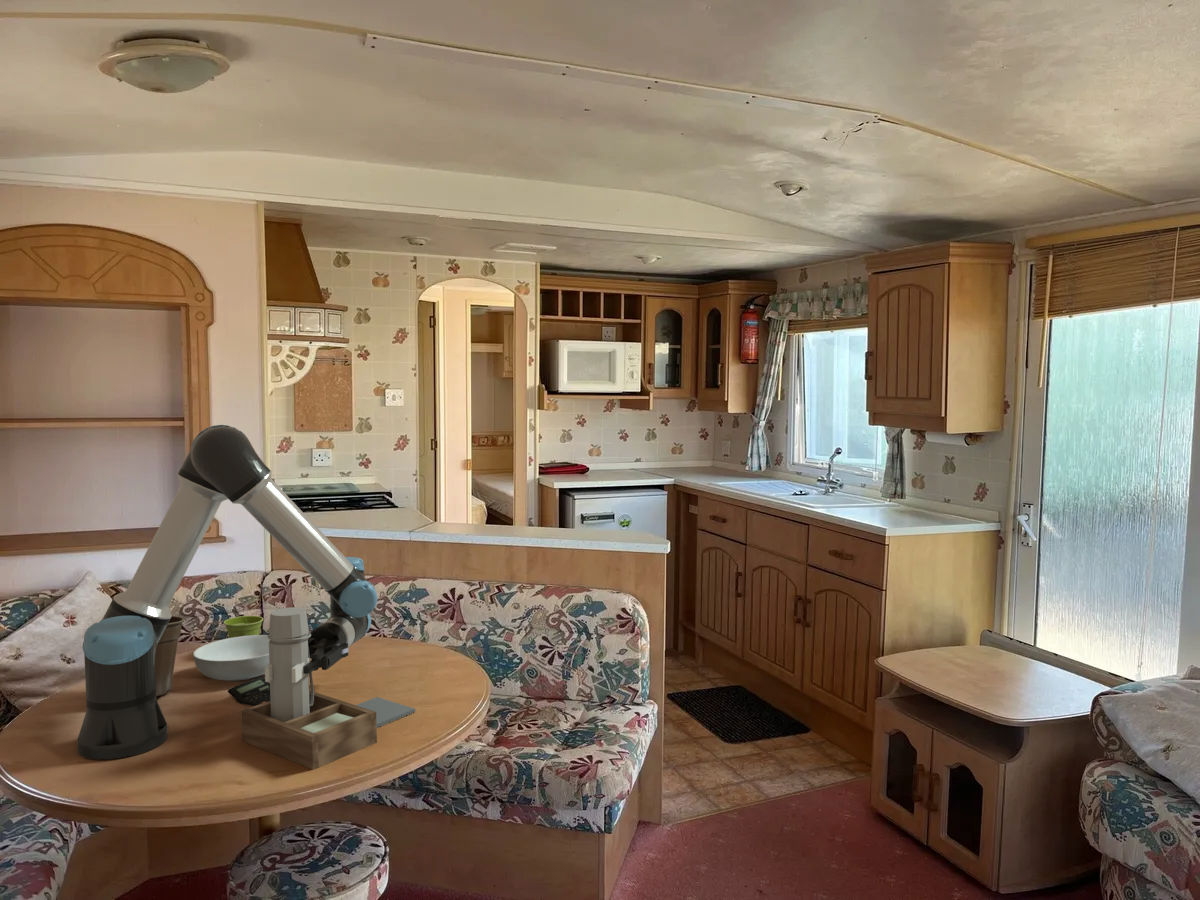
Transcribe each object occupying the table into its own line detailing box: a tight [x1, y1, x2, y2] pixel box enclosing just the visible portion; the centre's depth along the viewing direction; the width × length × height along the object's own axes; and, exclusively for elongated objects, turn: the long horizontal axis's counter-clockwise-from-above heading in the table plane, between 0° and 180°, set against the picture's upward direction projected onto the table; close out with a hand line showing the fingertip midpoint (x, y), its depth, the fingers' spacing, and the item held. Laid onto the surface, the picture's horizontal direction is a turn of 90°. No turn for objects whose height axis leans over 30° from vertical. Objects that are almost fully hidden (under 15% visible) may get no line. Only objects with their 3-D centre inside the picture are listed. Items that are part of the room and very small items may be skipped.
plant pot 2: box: [223, 615, 264, 638], centre depth 220 cm, size 9×9×9 cm
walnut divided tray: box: [240, 689, 378, 771], centre depth 164 cm, size 14×22×6 cm, turn 55°
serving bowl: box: [192, 634, 270, 682], centre depth 203 cm, size 21×21×7 cm
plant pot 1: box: [155, 615, 185, 697], centre depth 189 cm, size 16×16×16 cm
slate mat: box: [355, 696, 416, 729], centre depth 177 cm, size 12×12×1 cm
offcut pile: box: [301, 713, 354, 733], centre depth 160 cm, size 10×5×5 cm, turn 149°
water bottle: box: [267, 606, 315, 722], centre depth 166 cm, size 9×8×25 cm
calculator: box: [227, 675, 271, 707], centre depth 188 cm, size 9×12×3 cm
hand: (280, 675), depth 160 cm, fingers open, 4 cm apart
